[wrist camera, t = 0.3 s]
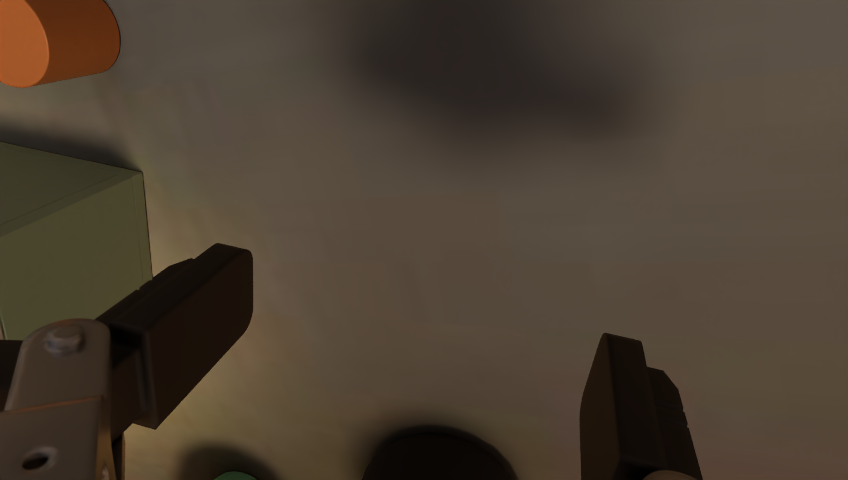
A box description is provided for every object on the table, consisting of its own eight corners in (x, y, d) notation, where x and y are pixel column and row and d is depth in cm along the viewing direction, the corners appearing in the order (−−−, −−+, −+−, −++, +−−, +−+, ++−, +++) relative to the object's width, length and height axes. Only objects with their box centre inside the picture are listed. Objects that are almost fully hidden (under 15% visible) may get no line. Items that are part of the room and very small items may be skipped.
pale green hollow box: (-41, 132, 36) (-252, 185, 26) (142, 172, 34) (-17, 243, 25) (10, 348, 43) (-141, 449, 34) (163, 391, 41) (46, 509, 32)
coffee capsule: (38, -23, 30) (-48, -24, 26) (115, -10, 30) (39, -9, 25) (52, 66, 32) (-26, 79, 28) (124, 80, 32) (55, 95, 27)
